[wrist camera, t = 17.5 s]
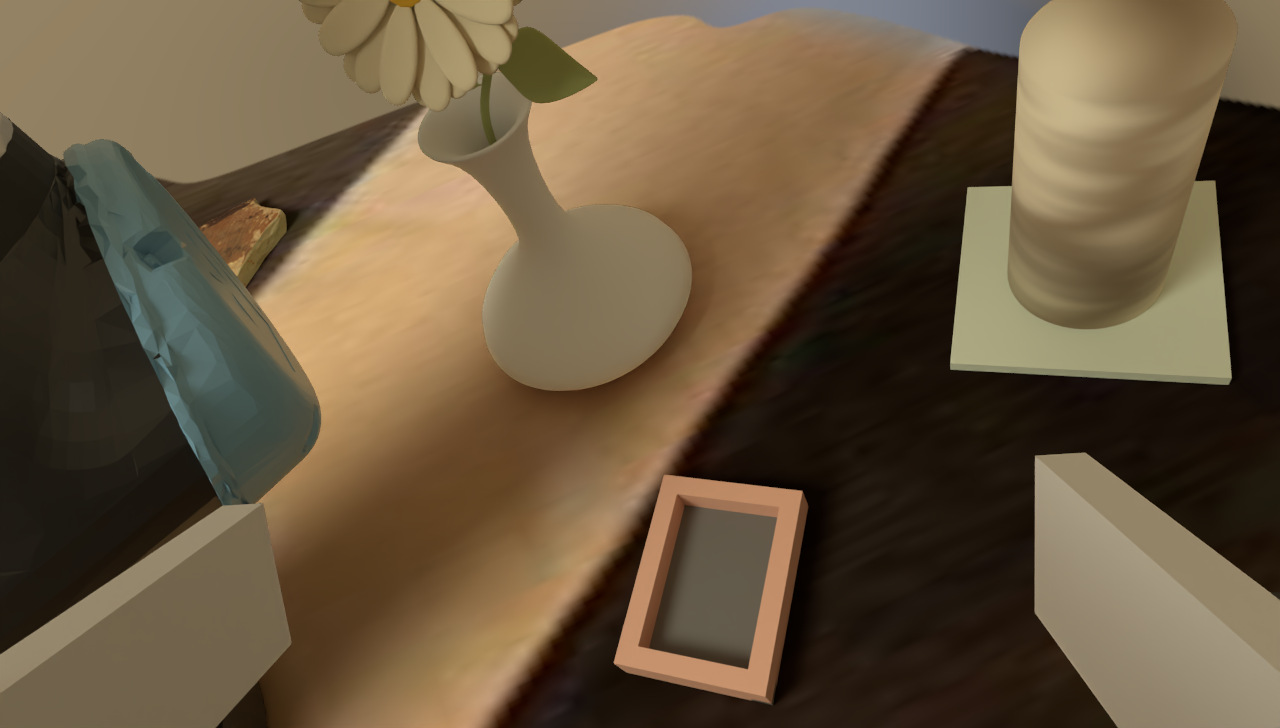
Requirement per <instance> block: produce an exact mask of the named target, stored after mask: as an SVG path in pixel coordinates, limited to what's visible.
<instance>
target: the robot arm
mask: <svg viewBox="0 0 1280 728" xmlns="http://www.w3.org/2000/svg"><path fill="white" fill-rule="evenodd" d="M320 427H321V410H320V405H319V401H318V398H317V396H316V393H315V390H314V388H313V386H312V384H311V383H310V381H309V379H308V377H307V375H306V374H305V372H304V370H303V369H302V367H301V365H300V364H299V362H298V361H297V359H296V358H295V356H294V355H293V353H292V352H291V350H290V349H289V347H288V346H287V344H286V343H285V342H284V340H283V339H282V337H281V336H280V334H279V333H278V332H277V330H276V329H275V327H274V326H273V324H272V323H271V322H270V320H269V319H268V317H267V316H266V315H265V313H264V312H263V311H262V309H261V308H260V307H259V305H258V304H257V302H256V301H255V300H254V298H253V297H252V296H251V294H250V293H249V292H248V290H247V289H246V288H245V286H244V285H243V284H242V283H241V281H240V280H239V279H238V277H237V276H236V275H235V273H234V272H233V271H232V270H231V268H230V267H229V266H228V264H227V263H226V262H225V261H224V259H223V258H222V257H221V255H220V254H219V253H218V252H217V250H216V249H215V248H214V247H213V245H212V244H211V243H210V242H209V240H208V239H207V238H206V237H205V236H204V234H203V233H202V232H201V231H200V229H199V228H198V227H197V226H196V225H195V223H194V222H193V221H192V220H191V219H190V217H189V216H188V215H187V214H186V213H185V211H184V210H183V209H182V208H181V207H180V206H179V204H178V203H177V202H176V201H175V200H174V199H173V197H172V196H171V195H170V194H169V193H168V192H167V191H166V190H165V188H164V187H163V186H162V185H161V184H160V183H159V182H158V181H157V180H156V179H155V178H154V177H153V176H152V175H151V174H150V173H148V172H147V171H146V170H145V169H144V168H143V167H142V166H141V165H140V164H139V163H138V162H137V161H136V160H135V159H134V157H133V156H132V154H131V153H130V152H129V151H128V150H126V149H125V148H124V147H122V146H121V145H120V144H118V143H116V142H114V141H110V140H104V139H100V140H95V141H92V142H90V143H88V144H85V145H82V144H74V145H72V146H71V147H69V148H68V149H67V150H66V151H65V152H64V159H62V160H60V159H58V158H56V157H54V156H52V155H50V154H49V153H47V152H46V151H45V150H44V149H43V148H42V147H40V146H39V145H38V144H37V143H36V142H35V141H33V140H32V139H31V138H30V137H29V136H28V135H27V134H25V133H24V132H23V131H22V130H21V129H20V128H18V127H17V126H16V125H15V124H14V123H13V122H11V120H10V119H9V118H7V117H6V116H4V115H3V114H2V113H0V728H266V716H265V708H264V703H263V698H262V694H261V691H260V688H259V685H258V680H259V679H260V678H261V677H262V676H263V675H264V674H265V673H266V672H267V670H268V669H269V668H270V667H271V666H272V665H273V664H274V663H275V662H276V661H277V659H278V658H279V657H280V656H281V655H282V654H283V653H284V652H285V651H286V650H287V648H288V647H289V646H290V645H291V644H292V641H291V637H290V632H289V627H288V622H287V617H286V612H285V607H284V603H283V598H282V593H281V588H280V583H279V578H278V573H277V569H276V564H275V559H274V554H273V549H272V544H271V539H270V535H269V530H268V525H267V520H266V515H265V510H264V505H263V503H259V504H255V503H256V502H257V501H258V500H260V499H261V498H262V497H263V496H264V495H265V494H266V493H267V492H268V491H269V490H270V489H271V488H273V487H274V486H275V485H276V484H277V483H278V482H279V481H280V480H281V479H282V478H283V477H284V476H285V475H287V474H288V473H289V472H290V471H291V470H292V469H293V468H294V467H295V466H296V465H297V464H298V463H300V462H301V461H302V460H303V459H304V458H305V457H306V456H307V455H308V453H309V452H310V450H311V449H312V448H313V446H314V444H315V442H316V440H317V438H318V435H319V432H320ZM1035 613H1036V615H1037V616H1038V618H1039V619H1040V620H1041V622H1042V623H1043V624H1044V626H1045V627H1046V629H1047V630H1048V631H1049V633H1050V634H1051V636H1052V637H1053V638H1054V640H1055V641H1056V642H1057V644H1058V645H1059V647H1060V648H1061V649H1062V651H1063V652H1064V654H1065V655H1066V656H1067V658H1068V659H1069V660H1070V662H1071V663H1072V665H1073V666H1074V667H1075V669H1076V670H1077V671H1078V673H1079V674H1080V676H1081V677H1082V678H1083V680H1084V681H1085V683H1086V684H1087V685H1088V687H1089V688H1090V689H1091V691H1092V692H1093V694H1094V695H1095V696H1096V698H1097V699H1098V701H1099V702H1100V703H1101V705H1102V706H1103V707H1104V709H1105V710H1106V712H1107V713H1108V714H1109V716H1110V717H1111V718H1112V720H1113V721H1114V723H1115V724H1116V725H1117V727H1118V728H1280V592H1273V593H1270V592H1268V591H1267V590H1266V589H1265V588H1263V587H1262V586H1261V585H1259V584H1258V583H1257V582H1255V581H1254V580H1253V579H1251V578H1250V577H1249V576H1247V575H1246V574H1245V573H1243V572H1242V571H1241V570H1239V569H1238V568H1237V567H1235V566H1234V565H1233V564H1232V563H1230V562H1229V561H1228V560H1226V559H1225V558H1224V557H1222V556H1221V555H1220V554H1218V553H1217V552H1216V551H1214V550H1213V549H1212V548H1210V547H1209V546H1208V545H1206V544H1205V543H1204V542H1202V541H1201V540H1200V539H1199V538H1197V537H1196V536H1195V535H1193V534H1192V533H1191V532H1189V531H1188V530H1187V529H1185V528H1184V527H1183V526H1181V525H1180V524H1179V523H1177V522H1176V521H1175V520H1173V519H1172V518H1171V517H1169V516H1168V515H1167V514H1166V513H1164V512H1163V511H1162V510H1160V509H1159V508H1158V507H1156V506H1155V505H1154V504H1152V503H1151V502H1150V501H1148V500H1147V499H1146V498H1144V497H1143V496H1142V495H1140V494H1139V493H1138V492H1136V491H1135V490H1134V489H1132V488H1131V487H1130V486H1129V485H1127V484H1126V483H1125V482H1123V481H1122V480H1121V479H1119V478H1118V477H1117V476H1115V475H1114V474H1113V473H1111V472H1110V471H1109V470H1107V469H1106V468H1105V467H1103V466H1102V465H1101V464H1099V463H1098V462H1097V461H1096V460H1094V459H1093V458H1092V457H1090V456H1089V455H1088V454H1086V453H1072V454H1056V455H1040V456H1035Z"/></svg>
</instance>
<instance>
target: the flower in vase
mask: <svg viewBox="0 0 1280 728" xmlns="http://www.w3.org/2000/svg"><path fill="white" fill-rule="evenodd" d="M299 1H300V2H302V9H303V12H304V14H305V16H306V17H307V18H308V20H310V21H311V22H313V23H316V24H322V25H321V28H320V30H319V41H320V44H321V46H322V47H323V49H324V50H325V51H326V52H327V53H329V54H330V55H333V56H340V55H344V54H345V58H344V70H345V73H346V75H347V76H348V77H349V78H350V79H351V80H352V81H354V82H356V83H357V85H358V86H359V88H360V89H361V90H363V91H364V92H366V93H376V92H378V91H379V90H380V89H381V90H382V93H383V95H384V97H385V98H386V100H387V101H388V102H390V103H391V104H394V105H402V104H404V103H405V102H406V101H407V100H408V98H409V97H410V95H411V93H412V94H413V96H414V98H415V100H416V101H417V102H418V103H419V104H421V105H423V106H427V107H428V108H429V111H428V112H427V114H426V115H425V117H424V118H423V120H422V122H421V125H420V128H419V132H418V143H419V146H420V149H421V150H422V152H423V153H424V154H425V155H427V156H428V157H430V158H431V159H433V160H435V161H438V162H442V163H447V164H451V165H454V166H456V167H459V168H461V169H462V170H464V171H465V172H467V173H468V174H470V175H471V176H472V177H474V178H475V179H476V180H477V181H478V182H479V183H480V184H481V185H482V186H483V187H484V188H485V189H486V190H487V191H488V192H489V193H490V195H491V196H492V197H493V198H494V199H495V200H496V201H497V203H498V204H499V205H500V207H501V208H502V210H503V211H504V212H505V214H506V215H507V216H508V218H509V220H510V222H511V223H512V225H513V227H514V228H515V230H516V233H517V235H518V238H519V240H518V241H517V242H515V243H514V245H513V246H512V247H511V248H510V249H509V250H508V251H507V253H506V254H505V256H504V257H503V258H502V260H501V261H500V263H499V265H498V267H497V269H496V270H495V272H494V274H493V276H492V279H491V281H490V283H489V286H488V288H487V291H486V294H485V298H484V302H483V309H482V323H483V329H484V334H485V340H486V344H487V347H488V350H489V352H490V354H491V356H492V358H493V359H494V361H495V363H496V364H497V365H498V366H499V367H500V368H501V370H502V371H503V372H505V373H506V374H507V375H508V376H510V377H511V378H513V379H514V380H516V381H518V382H520V383H522V384H524V385H527V386H530V387H533V388H538V389H542V390H551V391H568V390H581V389H586V388H592V387H595V386H598V385H602V384H605V383H608V382H610V381H612V380H615V379H617V378H619V377H621V376H623V375H625V374H627V373H629V372H631V371H632V370H634V369H635V368H636V367H638V366H639V365H641V364H642V363H644V362H645V361H646V360H647V359H648V358H649V357H651V356H652V355H653V354H654V353H655V352H656V351H657V350H658V349H659V348H660V347H661V346H662V345H663V344H664V342H665V341H666V340H667V338H668V337H669V336H670V335H671V333H672V332H673V330H674V328H675V327H676V325H677V323H678V321H679V320H680V318H681V316H682V314H683V312H684V309H685V307H686V305H687V302H688V298H689V295H690V291H691V283H692V266H691V262H690V257H689V254H688V252H687V249H686V247H685V245H684V243H683V242H682V240H681V239H680V237H679V236H678V235H677V234H676V233H675V232H674V230H673V229H671V228H670V227H669V226H667V225H666V224H665V223H664V222H662V221H661V220H660V219H658V218H657V217H656V216H654V215H652V214H650V213H648V212H646V211H644V210H641V209H638V208H635V207H630V206H625V205H606V204H603V205H588V206H581V207H577V208H573V209H569V210H567V211H564V210H563V209H562V208H561V207H560V206H559V205H558V203H557V202H556V200H555V199H554V197H553V196H552V194H551V193H550V191H549V189H548V187H547V185H546V183H545V181H544V180H543V178H542V176H541V173H540V171H539V168H538V166H537V163H536V161H535V159H534V156H533V153H532V149H531V146H530V142H529V136H528V127H527V126H528V117H529V113H530V109H531V105H532V102H535V103H550V102H554V101H558V100H561V99H563V98H566V97H568V96H571V95H573V94H575V93H577V92H579V91H581V90H583V89H584V88H586V87H588V86H589V85H591V84H593V83H594V82H595V81H597V77H596V76H594V75H593V74H592V73H591V72H589V71H588V70H587V69H586V68H584V67H583V66H582V65H581V64H579V63H578V62H577V61H576V60H574V59H573V58H572V57H571V56H570V55H568V54H567V53H566V52H565V51H564V50H562V49H561V48H560V47H559V46H558V45H557V44H555V43H554V42H553V41H552V40H550V39H549V38H548V37H547V36H545V35H544V34H543V33H541V32H540V31H538V30H536V29H534V28H531V27H524V28H521V29H518V23H517V20H516V18H515V17H514V15H513V6H515V5H517V4H519V3H520V2H521V1H522V0H299ZM497 69H499V70H500V71H501V72H496V71H497ZM478 71H479V72H480V73H482V74H483V75H480V76H478Z"/></svg>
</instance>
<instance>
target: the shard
mask: <svg viewBox="0 0 1280 728" xmlns="http://www.w3.org/2000/svg"><path fill="white" fill-rule="evenodd" d="M199 229H200V231H201V232H202V233H203V234H204V236H205V237H206V238H207V239H208V240H209V242H210V243H211V244H212V245H213V247H214V248H215V249H216V250H217V252H218V253H219V254H220V255H221V257H222V258H223V259H224V261H225V262H226V263H227V264H228V266H229V267H230V268H231V270H232V271H233V272H234V273H235V275H236V276H237V277H238V279H239V280H240V281H241V283H242V284H243V285H244V286H245V288H246V286H247V285H248V283H249V282H250V280H251V279H252V277H253V276H254V274H255V273H256V271H257V270H258V268H259V267H260V265H261V264H262V262H263V261H264V259H265V258H266V256H267V255H268V254H269V253H270V252H271V250H272V249H273V248H274V247H275V246H276V245H277V243H278V241H279V240H280V239H281V238H282V236H283V235H284V234H285V233H286V231H287V224H286V216H285V214H284V212H283V211H282V210H280V209H275V208H268V207H263V206H260V205H259V203H258V202H257V201H256V199H255V198H253V199H251V200H249V201H247V202H245V203H243V204H241V205H239V206H237V207H235V208H233V209H231V210H229V211H228V212H226V213H225V214H224V215H222V216H221V217H218V218H215V219H213V220H211V221H209V222H207V223H206V224H204V225H203V226H201V227H199Z"/></svg>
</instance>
